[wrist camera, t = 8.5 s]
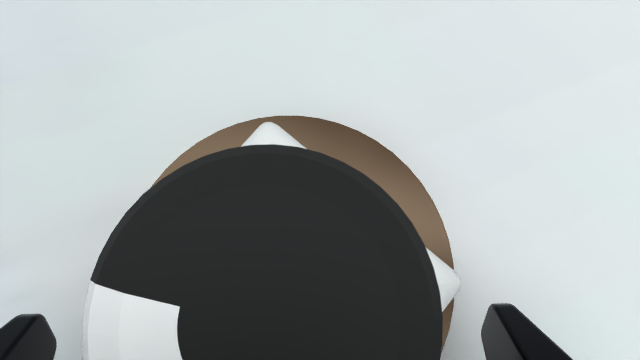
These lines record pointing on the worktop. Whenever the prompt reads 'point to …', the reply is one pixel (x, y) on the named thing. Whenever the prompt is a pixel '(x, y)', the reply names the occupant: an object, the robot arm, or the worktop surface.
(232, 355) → the medicine bottle
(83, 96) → the worktop surface
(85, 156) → the worktop surface
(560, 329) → the worktop surface
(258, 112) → the worktop surface
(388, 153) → the walnut coaster
